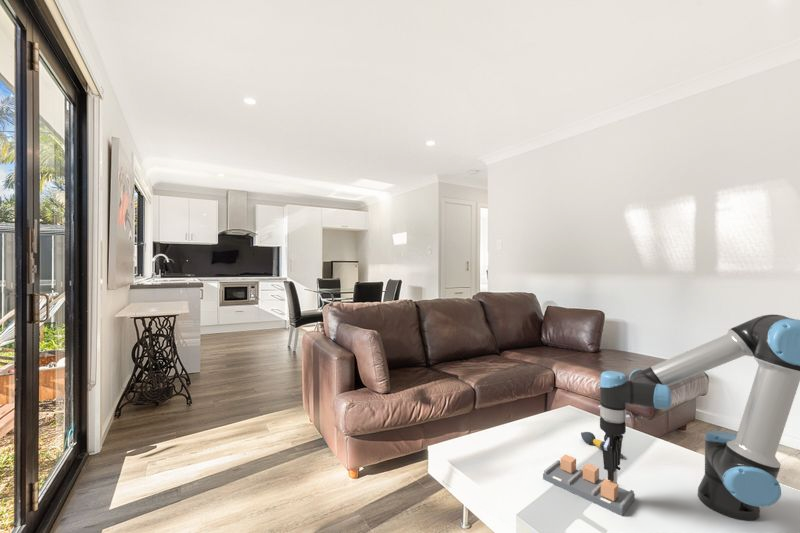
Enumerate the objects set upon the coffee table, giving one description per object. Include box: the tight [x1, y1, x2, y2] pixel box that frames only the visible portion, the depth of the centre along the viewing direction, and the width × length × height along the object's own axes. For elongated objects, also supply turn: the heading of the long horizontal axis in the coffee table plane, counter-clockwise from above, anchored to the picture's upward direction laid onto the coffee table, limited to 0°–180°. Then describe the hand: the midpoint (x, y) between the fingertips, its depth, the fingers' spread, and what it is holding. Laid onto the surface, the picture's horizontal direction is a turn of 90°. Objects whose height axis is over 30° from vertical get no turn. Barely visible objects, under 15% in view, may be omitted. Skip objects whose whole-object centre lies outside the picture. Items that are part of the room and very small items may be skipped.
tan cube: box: [560, 454, 577, 473], centre depth 137 cm, size 4×4×4 cm
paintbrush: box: [580, 431, 624, 459], centre depth 157 cm, size 20×5×5 cm, turn 32°
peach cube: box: [582, 462, 600, 483], centre depth 131 cm, size 4×4×4 cm
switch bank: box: [542, 459, 636, 517], centre depth 128 cm, size 26×12×3 cm, turn 41°
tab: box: [601, 478, 619, 501], centre depth 121 cm, size 4×4×4 cm
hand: (611, 488), depth 123 cm, fingers closed
